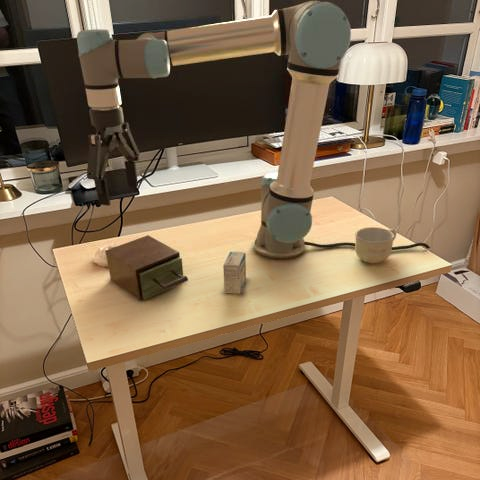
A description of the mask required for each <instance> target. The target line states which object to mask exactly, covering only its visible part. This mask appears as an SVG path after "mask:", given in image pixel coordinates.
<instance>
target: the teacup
mask: <svg viewBox="0 0 480 480" xmlns="http://www.w3.org/2000/svg"><path fill="white" fill-rule="evenodd" d="M396 237H397V231H396V229H394V228H389V229H386V228H382V227H365V228H361V229H358V230H356V232H355V242H354V243H355V246H354V251H355V254H356V256H357V258H359V259H360V260H362V262H364V263H367V264H378V263H382V262H383V261H385V260H387V259H388V258H389V257H390V256H391V254H392V251H393V250H392V247H393V243H394V241H395V239H396Z"/></svg>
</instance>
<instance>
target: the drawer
mask: <svg viewBox="0 0 480 480" xmlns="http://www.w3.org/2000/svg"><path fill="white" fill-rule="evenodd" d="M183 268H184V267H183V258H182V257H181V256H180V257H178V258H175V259H174V258H171V259H169V260H167V261H164V262H162V263H159V264H157V265H154V266H152V267H149V268H147V269H144V270H142V271H139V277H140V283H141V290H142V295H143V298H144V301H145V300H148V299H150V298H152V297H154V296H156V295H159V294H161V293H164V292H166V291H168V290H170V289H172V288H175V287H178V286H179V285H182V284H184V283H185V282H188V281H189V278H188V276H187V275H184V269H183Z"/></svg>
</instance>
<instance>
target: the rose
mask: <svg viewBox="0 0 480 480" xmlns="http://www.w3.org/2000/svg"><path fill="white" fill-rule="evenodd" d="M114 247H117V246H115V245H102V246H100V247H99V248H98V249H97V250H96V251H95V253H94V259H93V262H94V264H96V265H98V266H99V267H104V268H105V267H106V268H108V263H107V258H106V252H105V251H106V250H108V249H111V248H114Z"/></svg>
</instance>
